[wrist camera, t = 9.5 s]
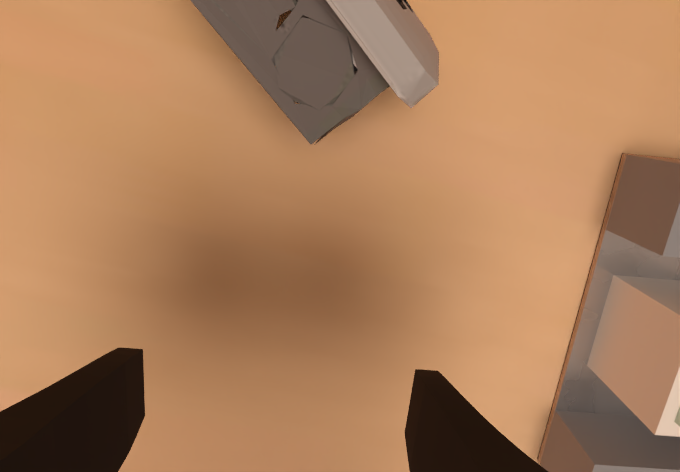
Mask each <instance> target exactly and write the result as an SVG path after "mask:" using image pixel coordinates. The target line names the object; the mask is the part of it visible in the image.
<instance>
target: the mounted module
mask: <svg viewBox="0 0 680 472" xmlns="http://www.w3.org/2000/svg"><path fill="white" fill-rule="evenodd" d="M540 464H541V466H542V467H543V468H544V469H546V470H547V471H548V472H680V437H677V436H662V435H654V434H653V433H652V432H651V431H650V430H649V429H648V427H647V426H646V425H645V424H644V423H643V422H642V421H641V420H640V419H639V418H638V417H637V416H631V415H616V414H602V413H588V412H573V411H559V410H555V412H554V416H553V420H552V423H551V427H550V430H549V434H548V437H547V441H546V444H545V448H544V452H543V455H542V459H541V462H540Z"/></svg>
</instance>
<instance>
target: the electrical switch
mask: <svg viewBox="0 0 680 472" xmlns="http://www.w3.org/2000/svg"><path fill="white" fill-rule="evenodd" d="M191 1H192V3H193V4H194V5H195V6H196V7H197V9H198V10H199V11H200V12H201V13H202V15H203V16H204V17H205V18H206V19H207V21H208V22H209V23H210V24H211V25H212V27H213V28H214V29H215V30H216V31H217V33H218V34H219V35H220V36H221V37H222V39H223V40H224V41H225V42H226V43H227V45H228V46H229V47H230V48H231V49H232V51H233V52H234V53H235V54H236V55H237V57H238V58H239V59H240V60H241V61H242V63H243V64H244V65H245V66H246V67H247V69H248V70H249V71H250V72H251V73H252V75H253V76H254V77H255V78H256V79H257V81H258V82H259V83H260V84H261V85H262V87H263V88H264V89H265V90H266V91H267V93H268V94H269V95H270V96H271V97H272V99H273V100H274V101H275V102H276V103H277V105H278V106H279V107H280V108H281V109H282V111H283V112H284V113H285V114H286V115H287V117H288V118H289V119H290V120H291V121H292V123H293V124H294V125H295V126H296V127H297V129H298V130H299V131H300V132H301V133H302V135H303V136H304V137H305V138H306V139H307V141H308V142H309V143H310V144H312V143H314V142H315V141H316V140H317V139H319V138H320V139H319V140H318V141H320V140H321V139H322V138H323V137H325V136H326V135H327V134H328V133H329V132H331V131H332V130H333V129H335V128H336V127H338V126H339V125H341V124H342V123H344V122H345V121H347V120H348V119H350V118H351V117H353V116H354V115H355V114H356V113H357V112H359V111H360V110H361V109H362V108H363V107H364V106H366V105H367V104H368V103H369V102H370V101H371V100H372V99H374V98H375V97H376V96H377V95H378V94H380V93H381V92H382V91H384V90H385V89H386V88H388V87H389V86H390V87H391V88H392V89H393V91H394V92H395V93H396V95H397V96H398V97H399V98H400V99H401V100H402V101H404V102H405V103H406V104H407V105H408V106H409V107H410V108H412V107H413V106H414V105H416V104H417V103H418V102H419V101H420V100H421V99H422V98H423V97H425V96H426V95H427V94H428V93H429V92H430V91H431V90H433V89H434V88H435V87H436V86H437V85H438V76H439V52H438V50H437V48H436V46H435V44H434V42H433V40H432V38H431V36H430V34H429V33H428V31H427V30H426V28H425V27H424V26H423V24H422V23H421V21H420V20H419V18H418V17H417V16H416V14H415V13H414V11H413V10H412V8H411V7H410V5H409V4H408V2H407V1H406V0H191ZM289 10H290V11H291V13H290V14H289V16H288V17H287V18H286V19H285V21H284V22H283V23H282V24H281V26H280V27H279V28H278V29H277V30H276V27H277V23H278V19H279V15H281V14H283V13H285V12H287V11H289ZM275 66H276V67H275ZM294 102H297V103H300V104H295V103H294ZM318 141H317V142H318ZM317 142H316V143H317ZM316 143H315V144H316ZM315 144H314V145H315Z"/></svg>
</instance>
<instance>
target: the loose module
mask: <svg viewBox="0 0 680 472" xmlns="http://www.w3.org/2000/svg"><path fill="white" fill-rule="evenodd" d="M587 366H588V367H589V368H590V369H591V370H592V371H593V372H594V373H595V374H596V375H597V376H598V377H599V378H600V379H601V380H602V381H603V382H604V383H605V384H606V385H607V386H608V387H609V388H610V390H611V391H612V392H613V393H614V394H615V395H616V396H617V397H618V398H619V399H620V400H621V401H622V402H623V403H624V404H625V405H626V406H627V407H628V408H629V409H630V410H631V411H632V412H633V413H634V414H635V415H636V416H637V417H638V418H639V419H640V420H641V421H642V422H643V423H644V424H645V425H646V426H647V427H648V429H649V430H650V431H651V432H652V433H653V434H654V435H662V436H677V437H680V280H668V279H656V278H645V277H633V276H621V275H613V278H612V281H611V285H610V288H609V292H608V295H607V298H606V302H605V305H604V309H603V312H602V315H601V319H600V322H599V326H598V329H597V333H596V336H595V339H594V343H593V346H592V350H591V353H590V356H589V360H588V363H587Z"/></svg>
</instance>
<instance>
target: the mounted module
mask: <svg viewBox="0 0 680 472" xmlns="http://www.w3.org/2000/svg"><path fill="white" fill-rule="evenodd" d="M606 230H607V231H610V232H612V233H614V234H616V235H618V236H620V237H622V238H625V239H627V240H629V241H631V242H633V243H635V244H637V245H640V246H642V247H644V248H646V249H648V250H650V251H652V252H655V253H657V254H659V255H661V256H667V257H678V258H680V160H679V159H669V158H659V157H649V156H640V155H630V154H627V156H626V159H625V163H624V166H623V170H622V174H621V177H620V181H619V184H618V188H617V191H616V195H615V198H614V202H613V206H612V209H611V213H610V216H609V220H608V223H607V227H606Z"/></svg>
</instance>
